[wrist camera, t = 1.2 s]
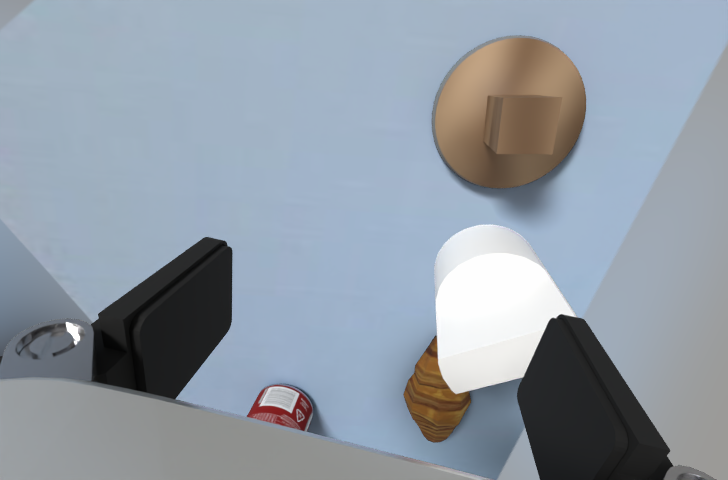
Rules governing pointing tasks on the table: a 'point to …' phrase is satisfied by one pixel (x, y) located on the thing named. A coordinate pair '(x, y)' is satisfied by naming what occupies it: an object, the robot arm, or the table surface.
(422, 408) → the croissant
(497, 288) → the base with upright slab
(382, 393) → the table surface
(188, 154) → the table surface
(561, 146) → the lid
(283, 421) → the soda can
